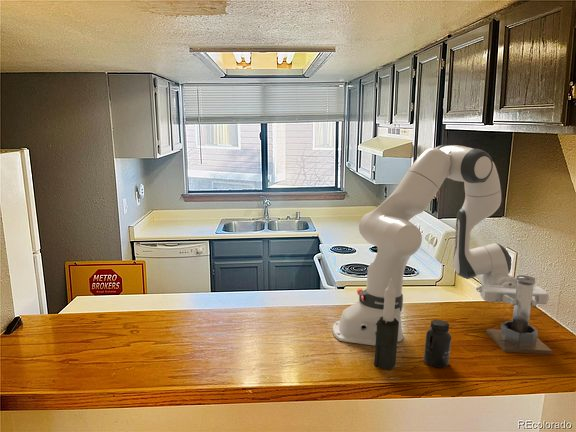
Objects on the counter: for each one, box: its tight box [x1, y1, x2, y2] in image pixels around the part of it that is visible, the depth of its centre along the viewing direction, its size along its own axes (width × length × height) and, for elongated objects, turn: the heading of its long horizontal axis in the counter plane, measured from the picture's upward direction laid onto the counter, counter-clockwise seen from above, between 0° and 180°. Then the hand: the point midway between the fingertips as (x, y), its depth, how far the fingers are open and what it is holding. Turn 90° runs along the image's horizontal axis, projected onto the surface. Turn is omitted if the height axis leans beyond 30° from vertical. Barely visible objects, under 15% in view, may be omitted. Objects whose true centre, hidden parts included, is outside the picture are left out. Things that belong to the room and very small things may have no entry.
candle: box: [373, 279, 399, 371], centre depth 124 cm, size 5×5×25 cm
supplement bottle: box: [423, 319, 452, 369], centre depth 128 cm, size 7×7×12 cm
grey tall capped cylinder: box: [511, 274, 536, 333], centre depth 141 cm, size 5×5×18 cm
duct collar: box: [486, 320, 553, 355], centre depth 143 cm, size 14×14×5 cm
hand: (524, 303), depth 140 cm, fingers closed on grey tall capped cylinder, 5 cm apart
